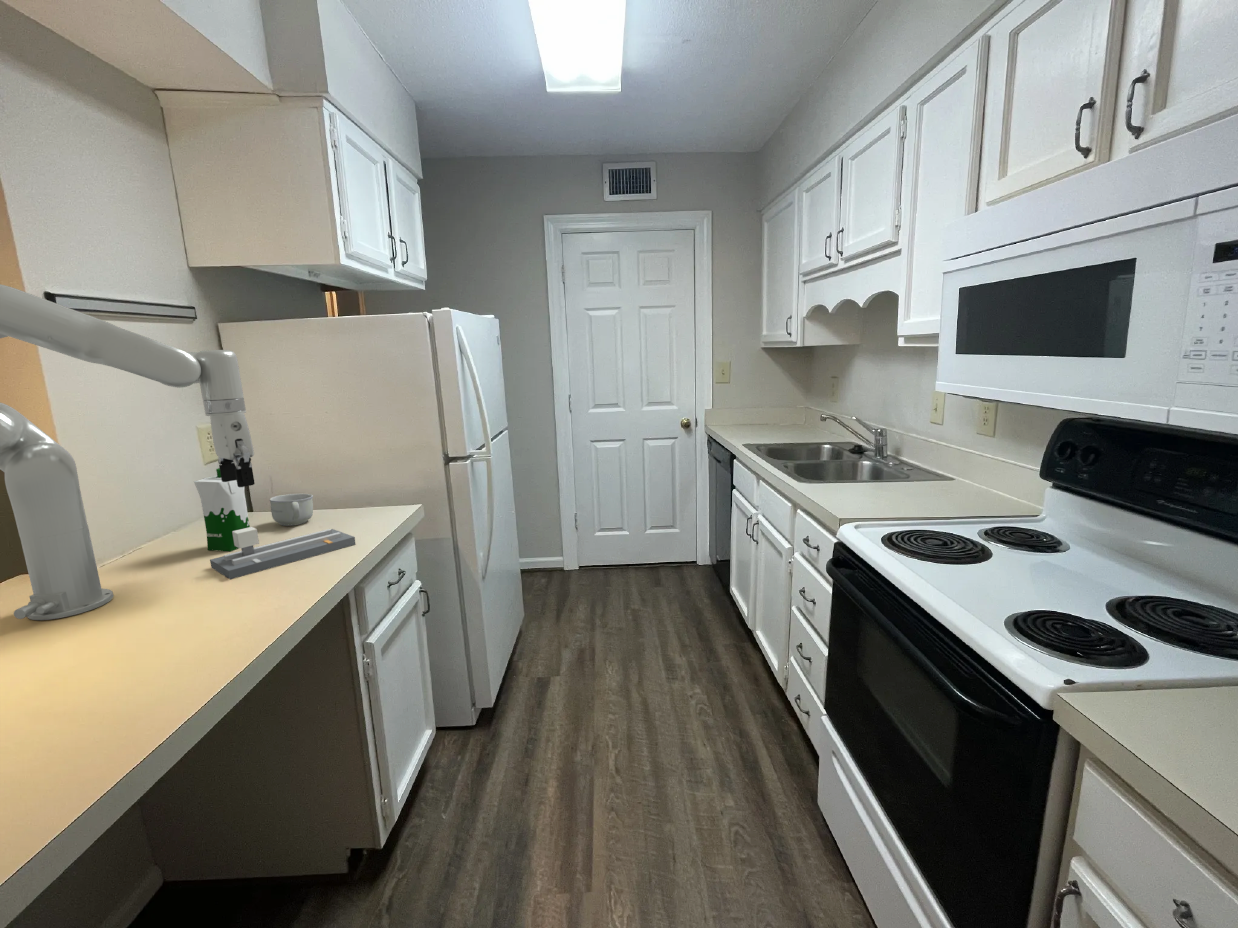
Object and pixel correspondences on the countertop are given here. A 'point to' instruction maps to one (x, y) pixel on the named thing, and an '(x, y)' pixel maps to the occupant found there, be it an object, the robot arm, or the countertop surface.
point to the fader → (246, 540)
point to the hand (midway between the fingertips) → (238, 483)
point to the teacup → (292, 508)
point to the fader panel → (281, 553)
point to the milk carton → (222, 511)
